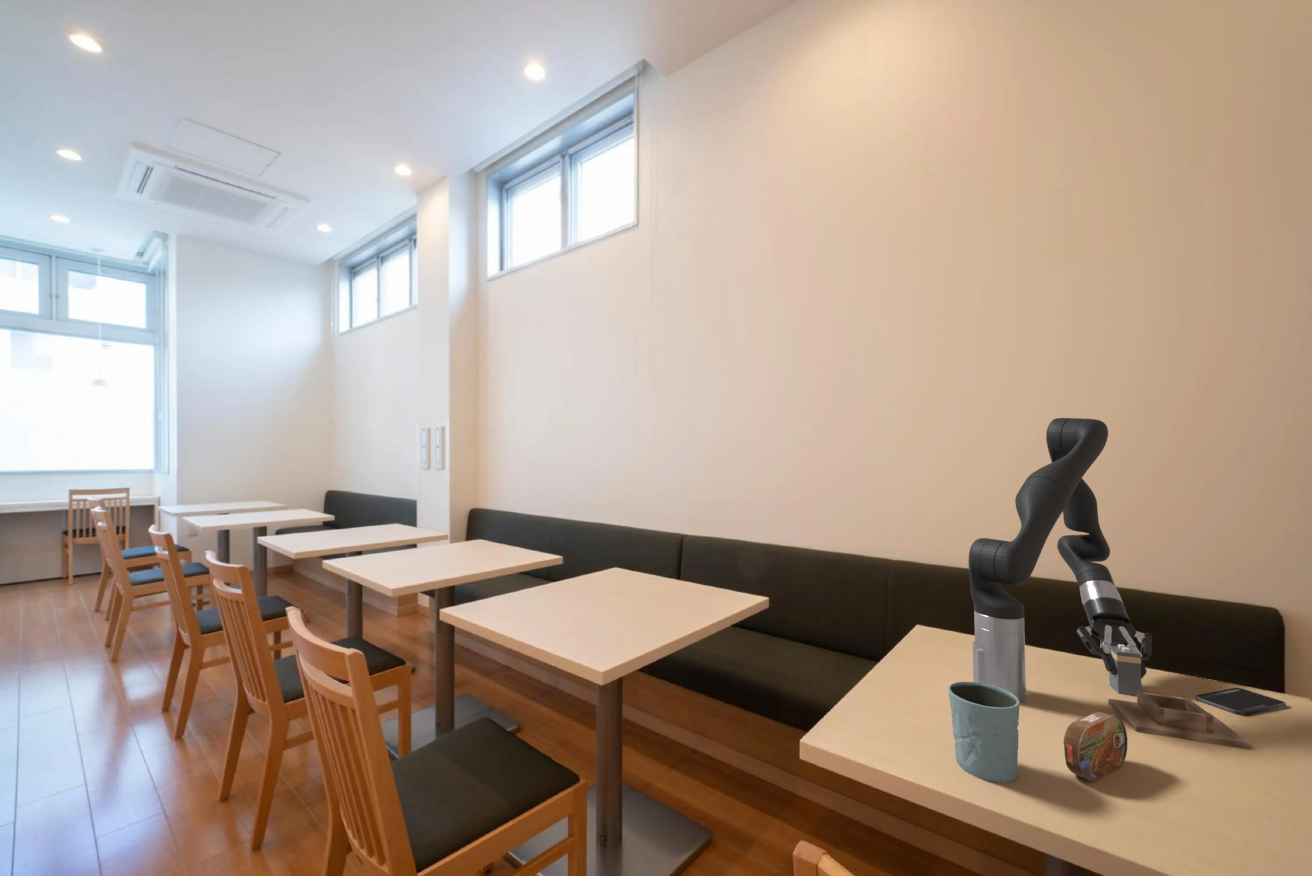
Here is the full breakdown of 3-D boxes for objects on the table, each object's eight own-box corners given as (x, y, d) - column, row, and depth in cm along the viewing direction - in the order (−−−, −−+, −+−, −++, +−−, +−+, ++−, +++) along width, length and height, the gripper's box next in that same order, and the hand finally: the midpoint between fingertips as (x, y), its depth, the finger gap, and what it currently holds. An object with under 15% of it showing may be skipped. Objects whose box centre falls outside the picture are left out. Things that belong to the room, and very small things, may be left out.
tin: (1082, 788, 81) (1081, 733, 82) (1060, 777, 84) (1058, 724, 85) (1130, 763, 88) (1129, 712, 88) (1107, 754, 91) (1106, 704, 91)
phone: (1193, 695, 112) (1238, 687, 116) (1193, 701, 112) (1238, 692, 116) (1243, 713, 104) (1289, 703, 108) (1243, 719, 104) (1289, 708, 108)
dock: (1136, 731, 98) (1135, 709, 99) (1108, 703, 109) (1108, 684, 110) (1251, 749, 92) (1250, 726, 93) (1209, 718, 104) (1208, 697, 104)
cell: (1118, 693, 114) (1116, 649, 115) (1109, 685, 118) (1107, 642, 119) (1142, 696, 113) (1140, 651, 113) (1132, 687, 117) (1130, 644, 117)
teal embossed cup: (1023, 793, 80) (1021, 714, 80) (947, 772, 85) (946, 697, 86) (1019, 761, 89) (1017, 689, 89) (950, 743, 94) (949, 676, 94)
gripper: (1070, 593, 126) (1092, 662, 115) (1145, 599, 121) (1176, 672, 109) (1063, 609, 131) (1083, 677, 119) (1135, 615, 126) (1163, 687, 114)
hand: (1127, 674), depth 114 cm, fingers closed on cell, 4 cm apart
